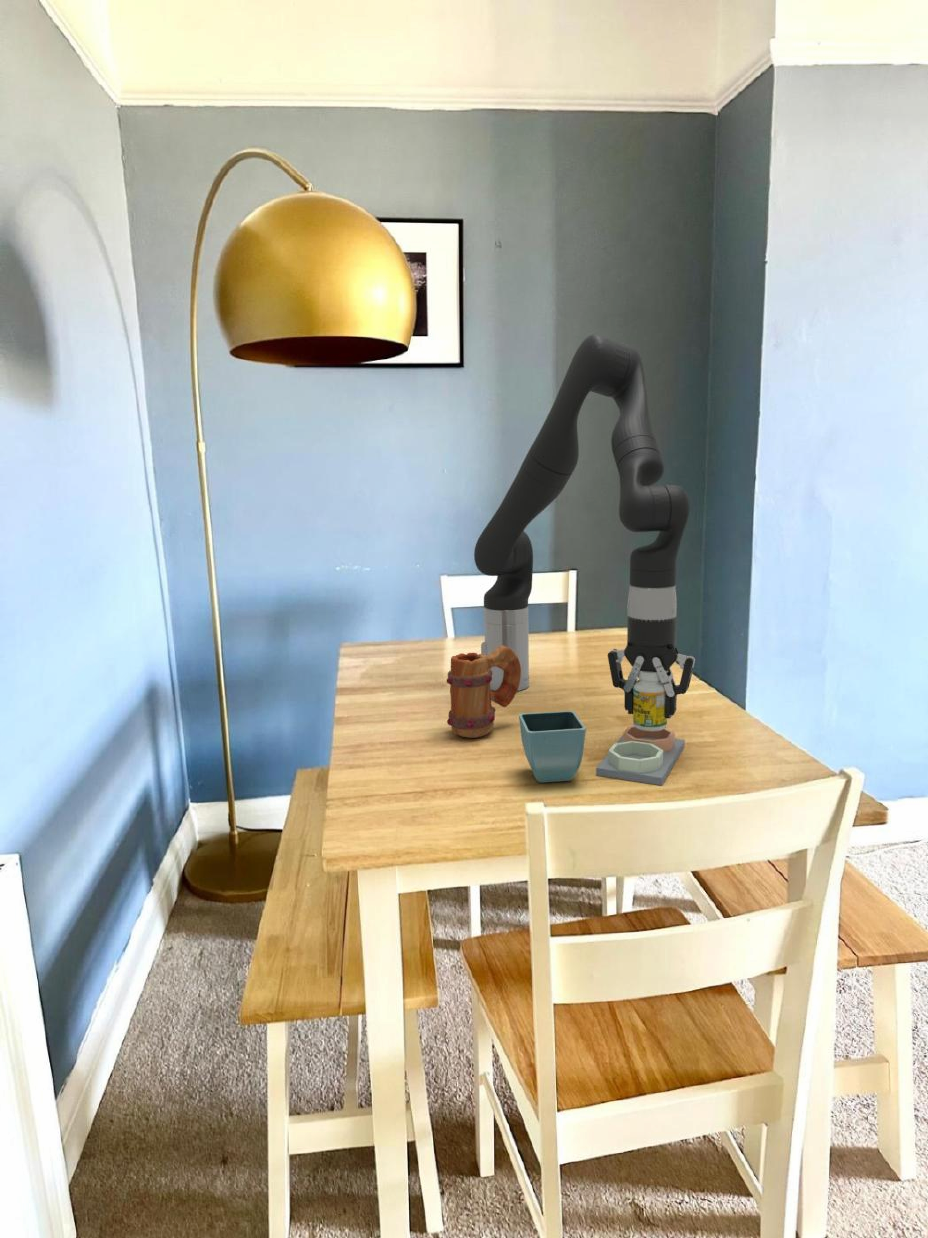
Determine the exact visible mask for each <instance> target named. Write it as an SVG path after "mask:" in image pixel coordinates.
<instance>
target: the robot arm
mask: <svg viewBox="0 0 928 1238" xmlns="http://www.w3.org/2000/svg"><path fill="white" fill-rule="evenodd" d="M643 366H644V365H643V362H642V357H641V355H640V354H639V351H638V350H637V349H636V348H634V347H632V346H631V345H630V344H626V343H624V342H622V341H620V340H619V341H618V340H615V339H613V338H610V337H607V336H604V335H601V334H598V333H597V334H596V333H593V334H590V335H588V336H587V337H586V338H584V339H583V340H582V342H581V343H580V344H579V346H578V347H577V349H576V351H575V352H574V355H573V357H572V358H571V361H570V363H569V366H568V368H567V371H566V373H565V375H564V378H563V381H562V383H561V384H560V388H559V390H558V392H557V394H556V397H555V399H554V402H553V404H552V406H551V408H550V410H549V412H548V414H547V416H546V418H545V420H544V421H543V425H541V428H540V430H539V432H538V433H537V436H536V437H535V439H534V440H533V442H532V444H531V445H530V448H529V450H528V452H527V454H526V455H525V457H524V459H523V461H522V463H521V465H520V467H519V470H518V472H517V474H516V475H515V478H514V479H513V481H512V483H511V485H510V487H509V488H508V491H507V492H506V494H505V495H504V498H503V500H502V501H501V504H500V505H499V507H498V509H497V510H496V511H495V513H494V514H493V516H492V518H491V519H490V520H489V522H488V523H487V525H486V526H485V528H484V529H483V530H482V532H481V534H480V535H479V537H478V539H477V541H476V543H475V547H474V553H473V557H474V558H473V559H474V563H475V566H476V568H477V570H478V571H479V572H480V573H481V574H484V575H486V576H490V577H496V580H495V582H494V584H493V586H492V587H490V589H488V590H487V591H486V592H485V593H484V595H483V614H484V615H483V621H484V626H483V627H484V641H483V642H481V645H480V654H484V655H489V654H491V653H492V652H493V651H494V650H495V649H496V647H498V646H501V645H503V646H506V647H508V648H510V649H512V650H513V652H514V653H515V654H516V656H517V657H518V659H519V662H520V666H521V678H520V683H519V687H518V691H517V692H519V691H522V690H525V689H528V687H529V686H530V663H529V662H530V659H529V658H530V655H529V654H530V653H529V649H530V648H529V647H530V646H529V645H530V644H529V639H530V638H529V599H530V595H531V593H532V589H533V573H534V572H533V571H534V570H533V568H534V567H533V566H534V551H533V545H532V541H531V539H530V536H529V535H528V534H527V533H526V532H525V529H526V528H527V527H528V526H529V524H530V523H531V522H532V521H533V520H534V519H535V518H537V517H538V516H539V515H540V514H541V513H542V512H543V511H544V510H545V509H546V508H547V507H548V506H549V505H551V503H553V502H554V501H555V500H556V499H557V497H558V496H559V495H560V494H561V493H562V491H563V490H564V489H565V486H566V485H567V483H568V482H569V480H570V479H571V476H572V474H573V472H575V469H576V467H577V465H578V462H579V461H578V460H579V450H580V449H579V448H580V447H579V446H580V445H579V435H578V419H579V414H580V411H581V409H582V407H583V405H584V402H585V399H586V398H587V396H588V394H590V392H593V393H595V394H599V395H602V396H605V397H609V398H612V399H613V401H614V402H615V404H616V406H617V408H618V410H619V416H618V419H617V422H616V424H615V425H614V428H613V430H612V434H611V439H610V440H611V441H610V443H611V444H610V445H611V450H612V455H613V458H614V461H615V465H616V468H617V472H618V475H619V486H620V489H619V491H620V493H619V506H618V515H619V516H618V517H619V519H620V522H621V524H622V525H623V526H624V527H625V528H626V529H627V530H629V531H630V532H632V533H633V532H634V533H648V532H650V533H651V532H659V533H658V534H657V537H656V538H655V540H653V542H652V543H650V544H647V545H643V546H640V547H637V548H635V549H633V550H632V551H631V553H630V557H629V589H628V596H627V607H626V612H627V627H626V628H627V629H626V630H627V632H626V635H627V636H626V638H627V639H626V646H625V648H624V649H617V648H613V649H611V650H610V651H608V653H607V661H608V665H609V671H610V676H611V681H612V685H613V687H614V688H619V689H621V690H623V692H624V699H623V700H624V704H623V705H624V707H623V708H624V711H627V714H628V715H633V687H634V684H635V682H636V681H638V680H639V678H638V674H639V671H649V672H657V673H658V675H659V678H660V681H661V683H662V684H663V686H664V688H665V691H666V693H667V696H666V703H665V718H667V720H668V719H671V718H672V716H674V715H675V713H676V711H677V697H678V695H685V694H686V693H687V691H688V690H689V688H690V683H691V680H692V675H693V672H694V668H695V664H696V660H697V659H696V656H695V655H693V654H691V655H684V654H681V653H679V651H678V649H677V647H676V645H677V643H676V642H677V638H676V637H677V636H676V634H677V609H678V608H677V604H678V603H677V599H678V598H677V590H676V582H677V581H676V578H677V577H676V575H677V558H678V555H679V554H678V553H679V551H680V546H681V543H682V539H683V536H684V532H685V529H686V526H687V523H688V520H689V515H690V510H691V508H690V507H691V504H690V503H691V502H690V500H689V496H688V493H687V492H686V491H685V489H684V488H682V487H681V486H679V485H676V484H663V485H662V484H660V485H658V484H657V485H654V484H656V483H658V482H660V480H661V479H662V477H663V475H664V472H665V465H664V461H663V458H662V454H661V452H660V449H659V446H658V443H657V441H656V437H655V436H654V432H653V429H652V425H651V420H650V414H649V412H650V411H649V405H648V403H649V402H648V395H647V394H648V393H647V388H646V386H647V385H646V380H645V372H644V367H643ZM624 657H625V658H626V660H627V661H628V663H629V664H630V666H631V670H630V672H629V674H628V677H627V679H625V678H624V674H623V668H622V662H623V661H624ZM675 662H678V665H679V668H680V669H681V670H682V674H681V677H680V681H679V684H676V681H675V680H674V679H675V678H674V674H673V672H672V669H671V667H672V666H673V665H674V663H675ZM491 671H492V681H491V682H490V690H491V691H495V690H497V689H498V688H499V687H500V685H501V683H502V681H503V674H504V671H503V670H502V669H500V668H498V667H496V666H495V667H491Z"/></svg>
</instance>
